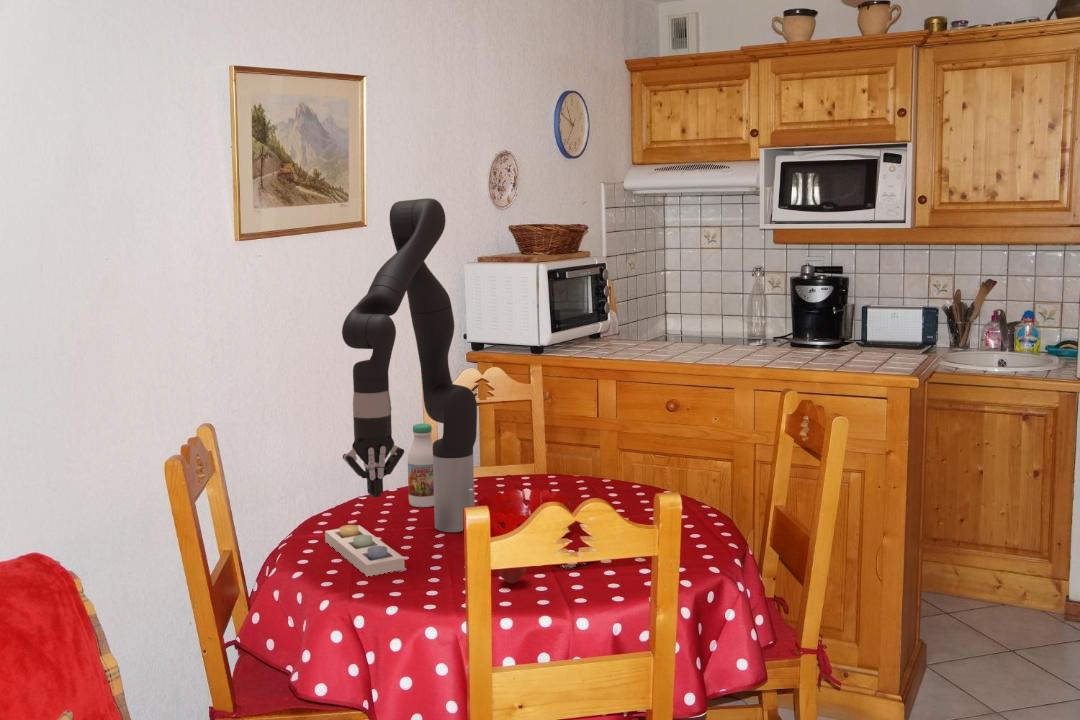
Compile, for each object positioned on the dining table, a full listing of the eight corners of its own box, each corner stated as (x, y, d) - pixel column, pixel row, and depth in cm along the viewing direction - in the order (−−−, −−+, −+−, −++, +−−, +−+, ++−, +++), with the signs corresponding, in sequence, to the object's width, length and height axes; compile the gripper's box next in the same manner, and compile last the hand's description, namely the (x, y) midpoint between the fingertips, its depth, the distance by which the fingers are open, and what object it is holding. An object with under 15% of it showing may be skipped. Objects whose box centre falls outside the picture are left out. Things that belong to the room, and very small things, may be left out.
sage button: (368, 542, 225) (368, 533, 225) (375, 548, 222) (375, 538, 221) (350, 546, 223) (350, 537, 223) (357, 551, 220) (357, 542, 219)
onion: (523, 590, 201) (522, 550, 200) (494, 588, 202) (493, 548, 201) (529, 579, 207) (529, 540, 206) (501, 577, 208) (500, 539, 207)
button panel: (359, 535, 236) (359, 525, 235) (404, 569, 213) (404, 557, 213) (325, 542, 232) (324, 531, 231) (367, 576, 209) (366, 564, 209)
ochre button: (354, 532, 232) (354, 523, 232) (361, 537, 229) (360, 528, 229) (337, 535, 230) (337, 526, 230) (343, 540, 227) (343, 531, 227)
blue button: (383, 553, 218) (382, 544, 217) (390, 559, 214) (390, 550, 214) (364, 557, 216) (364, 548, 215) (372, 562, 212) (371, 553, 212)
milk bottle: (406, 501, 263) (403, 423, 260) (436, 498, 265) (434, 420, 263) (412, 509, 256) (409, 429, 253) (443, 506, 258) (440, 426, 255)
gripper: (395, 406, 217) (398, 487, 220) (334, 413, 211) (337, 496, 213) (410, 412, 211) (412, 495, 213) (347, 419, 204) (350, 505, 207)
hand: (375, 496), depth 213 cm, fingers closed
